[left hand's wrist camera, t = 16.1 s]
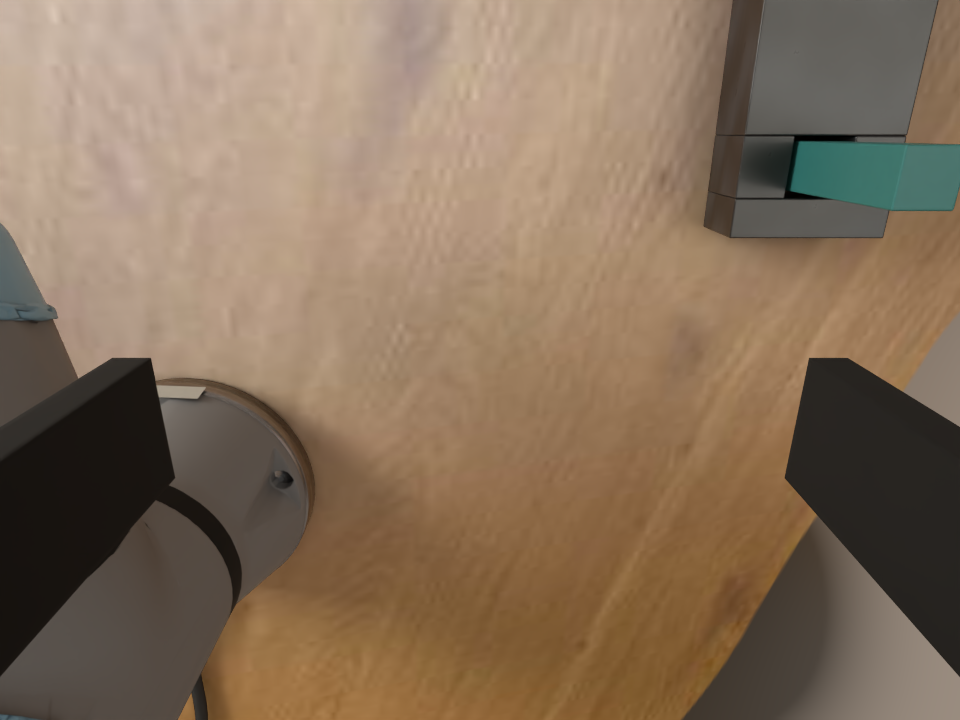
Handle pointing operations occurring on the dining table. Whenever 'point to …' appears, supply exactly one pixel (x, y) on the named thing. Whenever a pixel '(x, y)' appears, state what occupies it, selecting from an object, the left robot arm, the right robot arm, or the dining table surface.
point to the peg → (878, 173)
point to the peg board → (809, 106)
